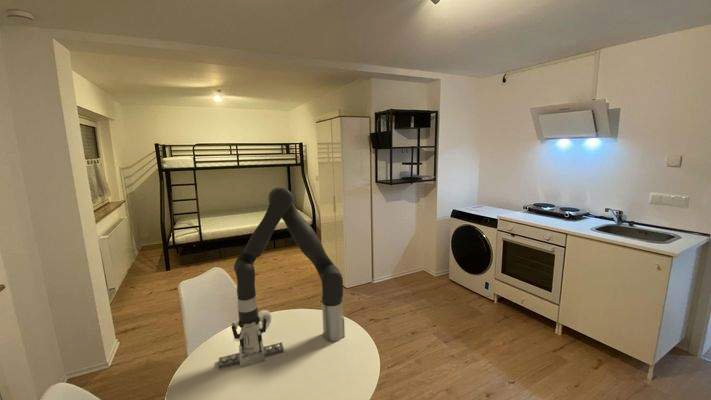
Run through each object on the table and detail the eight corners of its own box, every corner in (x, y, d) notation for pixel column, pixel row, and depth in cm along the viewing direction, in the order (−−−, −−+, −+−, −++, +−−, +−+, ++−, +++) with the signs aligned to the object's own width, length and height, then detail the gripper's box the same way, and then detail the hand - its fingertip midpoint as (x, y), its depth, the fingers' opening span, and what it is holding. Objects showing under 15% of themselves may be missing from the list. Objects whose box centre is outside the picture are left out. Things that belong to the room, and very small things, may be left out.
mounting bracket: (281, 342, 138) (280, 335, 138) (284, 355, 130) (284, 348, 129) (219, 357, 129) (218, 350, 129) (218, 372, 120) (217, 364, 120)
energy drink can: (241, 356, 128) (238, 323, 125) (251, 347, 133) (248, 316, 130) (253, 359, 125) (250, 326, 123) (262, 350, 131) (259, 318, 128)
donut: (269, 324, 153) (267, 305, 151) (273, 326, 151) (272, 307, 149) (252, 334, 145) (250, 314, 143) (256, 336, 143) (254, 316, 141)
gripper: (265, 299, 132) (267, 334, 135) (228, 306, 126) (232, 342, 129) (266, 307, 125) (269, 344, 128) (228, 315, 120) (232, 353, 122)
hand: (251, 343), depth 128 cm, fingers closed on energy drink can, 6 cm apart
